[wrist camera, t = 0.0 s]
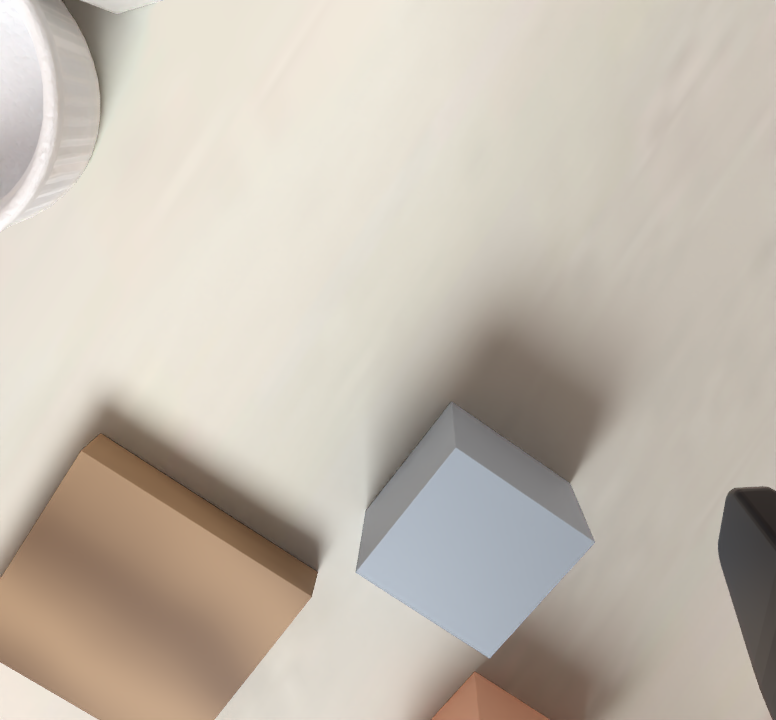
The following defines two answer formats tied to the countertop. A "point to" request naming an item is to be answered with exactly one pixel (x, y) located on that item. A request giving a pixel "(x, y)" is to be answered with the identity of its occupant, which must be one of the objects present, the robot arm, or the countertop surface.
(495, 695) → the terracotta brick
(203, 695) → the base plate
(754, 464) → the countertop surface
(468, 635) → the slate brick
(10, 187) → the ramekin
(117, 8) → the small box
